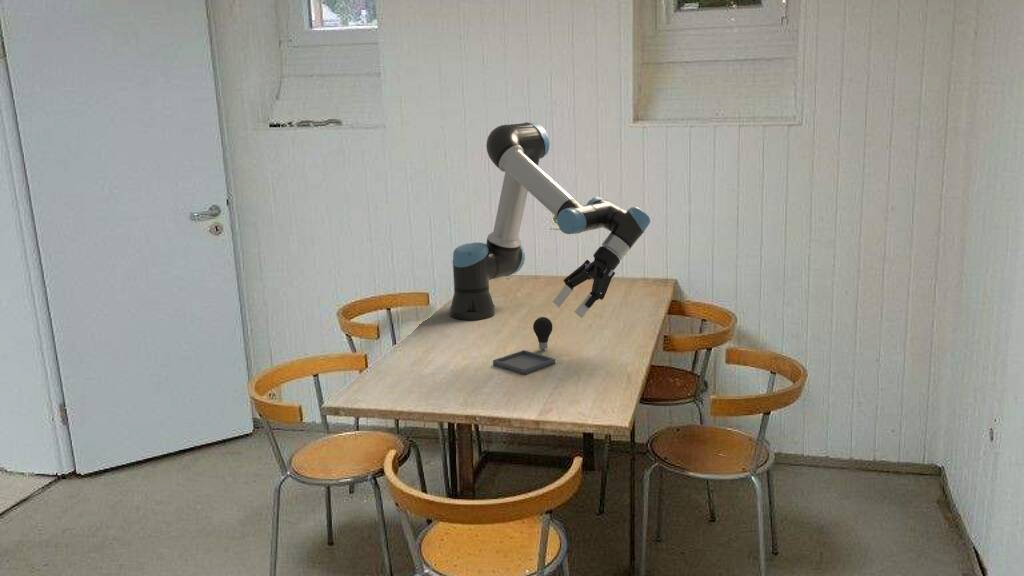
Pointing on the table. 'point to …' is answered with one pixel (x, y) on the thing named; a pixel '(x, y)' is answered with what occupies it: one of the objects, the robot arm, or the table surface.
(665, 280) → the table surface
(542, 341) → the light bulb
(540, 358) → the tray
